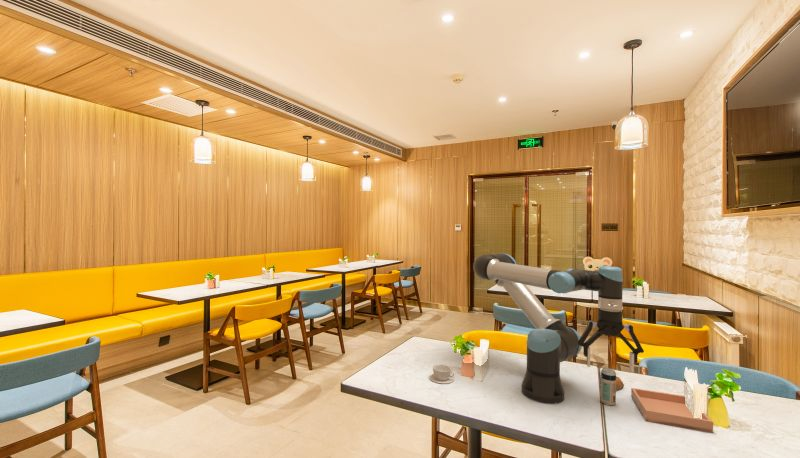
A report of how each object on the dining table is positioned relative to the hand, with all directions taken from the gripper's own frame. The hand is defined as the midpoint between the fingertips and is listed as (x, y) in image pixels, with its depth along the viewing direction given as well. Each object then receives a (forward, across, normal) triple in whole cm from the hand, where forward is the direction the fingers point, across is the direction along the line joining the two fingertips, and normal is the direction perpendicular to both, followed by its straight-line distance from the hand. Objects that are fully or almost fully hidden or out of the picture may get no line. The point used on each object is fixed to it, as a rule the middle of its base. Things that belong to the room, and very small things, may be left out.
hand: (609, 368), depth 125 cm
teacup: (+13, -61, -4) cm, 62 cm away
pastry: (+13, +4, +16) cm, 21 cm away
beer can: (+13, 0, 0) cm, 13 cm away
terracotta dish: (+13, +18, 0) cm, 22 cm away
